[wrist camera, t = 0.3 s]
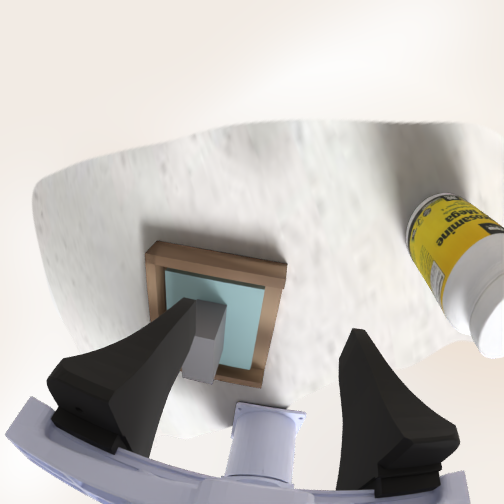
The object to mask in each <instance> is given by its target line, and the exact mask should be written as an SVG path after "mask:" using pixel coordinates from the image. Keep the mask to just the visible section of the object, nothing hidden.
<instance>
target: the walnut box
mask: <svg viewBox="0 0 504 504" xmlns="http://www.w3.org/2000/svg"><path fill="white" fill-rule="evenodd" d="M145 264H146V278H147V290H148V301H149V311H150V320H151V322H152V321H154V320H155V319H156V318H158V317H159V316H160V315H162V314H163V313H164V312H166V311H167V303H166V282H165V270H166V269H167V268H173V269H178V270H183V271H188V272H193V273H198V274H203V275H208V276H214V277H219V278H224V279H230V280H235V281H240V282H246V283H251V284H257V285H262V286H265V291H264V297H263V303H262V308H261V314H260V320H259V325H258V331H257V336H256V342H255V347H254V353H253V358H252V363H251V368H250V370H247V369H242V368H237V367H232V366H227V365H222V364H219V365H218V368H217V371H216V374H215V377H214V379H215V380H220V381H225V382H229V383H234V384H239V385H245V386H250V387H255V388H261V386H262V381H263V375H264V369H265V365H266V361H267V356H268V352H269V348H270V343H271V339H272V335H273V330H274V326H275V321H276V317H277V312H278V307H279V303H280V298H281V294H282V289H284V286H285V281H286V273H287V264H285V263H280V262H274V261H268V260H263V259H257V258H251V257H245V256H240V255H234V254H229V253H223V252H217V251H212V250H206V249H200V248H195V247H189V246H184V245H178V244H172V243H167V242H161V241H156V242H155V243H154V244H153V245H152V246H151V247H150V248H149V249H148V251H147V252H146V253H145ZM180 371H182V367H181V369H180Z"/></svg>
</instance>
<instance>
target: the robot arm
mask: <svg viewBox="0 0 504 504" xmlns="http://www.w3.org/2000/svg"><path fill="white" fill-rule="evenodd" d="M195 333H196V300H194V299H190V298H185V297H183V298H182V299H180V300H179V301H178V302H177V303H176V304H174V305H173V306H172V307H171V308H169V309H168V310H167V311H166V312H164V313H163V314H162V315H160V316H159V317H158V318H156V319H155V320H154V321H152V322H151V323H149V324H148V325H146V326H145V327H143V328H142V329H140V330H139V331H137V332H135V333H134V334H132V335H130V336H128V337H126V338H125V339H123V340H121V341H118V342H116V343H114V344H111V345H109V346H107V347H104V348H101V349H98V350H96V351H92V352H89V353H86V354H82V355H77V356H73V357H68V358H63V359H62V360H61V361H60V363H59V364H58V365H57V366H56V368H55V369H54V370H53V372H52V373H51V375H50V376H49V377H48V379H47V386H48V389H49V391H50V393H51V394H52V396H53V398H54V399H55V401H56V403H57V405H58V406H59V407H58V409H57V410H56V411H54V410H53V409H52V408H51V407H49V406H48V405H46V404H44V403H43V402H41V401H39V400H38V399H36V398H34V397H30V398H29V400H28V401H27V403H26V404H25V406H24V407H23V408H22V410H21V411H20V413H19V414H18V416H17V417H16V418H15V420H14V421H13V423H12V425H11V426H10V427H9V429H8V430H7V432H6V434H5V435H6V437H7V438H8V439H9V440H10V441H11V442H12V443H13V444H14V445H15V446H16V447H17V448H18V449H19V450H20V451H21V452H22V453H23V454H24V455H25V456H26V457H27V458H28V459H29V460H30V461H32V462H33V463H35V464H36V465H38V466H39V467H41V468H42V469H44V470H45V471H47V472H48V473H50V474H51V475H53V476H55V477H56V478H58V479H59V480H61V481H63V482H65V483H66V484H68V485H70V486H71V487H73V488H74V489H77V490H78V491H80V492H82V493H83V494H85V495H87V496H89V497H91V498H93V499H95V500H97V501H99V502H100V503H103V504H470V498H469V492H468V487H467V482H466V477H465V472H464V471H458V472H454V473H449V474H445V475H442V476H440V477H439V471H440V470H442V465H441V462H442V461H444V460H445V459H446V458H447V457H448V456H450V455H451V454H452V453H453V452H454V451H455V450H456V449H457V448H458V446H459V444H460V439H459V435H458V432H457V428H456V426H455V425H454V424H452V423H451V422H449V421H448V420H446V419H444V418H443V417H441V416H440V415H438V414H437V413H435V412H434V411H433V410H431V409H430V408H429V407H428V406H426V405H425V404H424V403H423V402H422V401H421V400H420V399H418V398H417V397H416V396H415V395H414V394H413V393H412V392H411V391H410V390H409V389H408V388H407V387H406V386H405V385H404V383H403V382H402V381H401V380H400V379H399V378H398V376H397V375H396V374H395V373H394V371H393V370H392V369H391V367H390V366H389V365H388V363H387V362H386V361H385V359H384V358H383V356H382V355H381V353H380V352H379V350H378V349H377V347H376V346H375V344H374V343H373V341H372V340H371V338H370V337H369V335H368V334H367V332H366V331H365V330H363V329H355V328H352V331H351V333H350V335H349V338H348V340H347V342H346V344H345V347H344V349H343V351H342V353H341V356H340V358H339V386H340V396H341V406H342V417H343V431H342V448H341V459H340V467H339V475H338V480H337V486H336V491H328V490H327V491H326V490H302V489H294V484H292V475H293V464H294V453H295V452H294V451H295V439H296V435H297V433H298V431H299V429H300V427H301V425H302V423H303V422H304V419H305V418H306V413H305V412H301V411H294V410H286V409H279V408H272V407H266V406H260V405H254V404H248V403H243V402H238V403H237V404H236V409H235V416H234V422H233V428H232V435H231V438H232V439H233V441H232V446H231V450H230V454H229V459H228V463H227V467H226V472H225V476H221V478H217V477H212V476H208V475H204V474H200V473H195V472H192V471H188V470H185V469H181V468H177V467H174V466H170V465H167V464H164V463H161V462H158V461H155V460H152V459H149V456H150V452H151V448H152V444H153V441H154V437H155V434H156V430H157V427H158V424H159V421H160V418H161V415H162V412H163V409H164V406H165V403H166V400H167V397H168V394H169V392H170V390H171V387H172V385H173V383H174V381H175V379H176V377H177V375H178V373H179V371H180V369H181V367H182V365H183V363H184V361H185V359H186V357H187V355H188V353H189V351H190V348H191V345H192V342H193V339H194V336H195Z"/></svg>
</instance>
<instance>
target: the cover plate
mask: <svg viewBox="0 0 504 504" xmlns="http://www.w3.org/2000/svg"><path fill="white" fill-rule="evenodd" d="M165 282H166V303H167V310H168V309H169V308H171V307H172V306H173V305H174V304H176V303H177V302H178V301H179V300H180V299H182V298H183V297H185V298H190V299H194V300H196V333H195V336H194V339H193V342H192V345H191V348H190V351H189V353H188V355H187V357H186V359H185V361H184V363H183V365H182V376H183V378H187V379H191V380H195V381H199V382H203V383H208V384H213V380H214V377H215V374H216V371H217V368H218V365H219V364H222V365H227V366H232V367H237V368H242V369H247V370H250V368H251V363H252V358H253V353H254V347H255V342H256V336H257V331H258V325H259V320H260V314H261V308H262V303H263V297H264V291H265V286H262V285H257V284H251V283H246V282H240V281H235V280H230V279H224V278H219V277H214V276H208V275H203V274H198V273H193V272H188V271H183V270H178V269H173V268H167V269H166V270H165Z"/></svg>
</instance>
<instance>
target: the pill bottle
mask: <svg viewBox="0 0 504 504" xmlns="http://www.w3.org/2000/svg"><path fill="white" fill-rule="evenodd" d="M406 244H407V249H408V252H409V254H410V256H411V258H412V260H413V262H414V263H415V265H416V266H417V268H418V270H419V271H420V273H421V274H422V276H423V278H424V279H425V281H426V283H427V284H428V286H429V288H430V289H431V291H432V293H433V295H434V296H435V298H436V300H437V302H438V303H439V305H440V307H441V309H442V311H443V313H444V315H445V317H446V318H447V320H448V321H449V323H450V324H451V325H452V327H453V328H455V329H456V330H457V331H459V332H461V333H463V334H466V335H471V336H472V339H473V341H474V342H475V344H476V346H477V347H478V349H479V351H480V353H481V354H482V355H483V356H485V357H487V358H492V359H493V358H500V357H503V356H504V228H503V227H502V226H501V225H499V224H498V223H497V222H495V221H494V220H493V219H491V218H490V217H489V216H488V215H486V214H484V213H483V212H482V211H480V210H479V209H478V208H476V207H475V206H473V205H472V204H471V203H469V202H467V201H466V200H465V199H463V198H461V197H459V196H457V195H455V194H450V193H441V194H436V195H433V196H431V197H429V198H427V199H426V200H424V201H423V202H422V203H421V204H420V205H419V206H418V207H417V208H416V209H415V211H414V212H413V214H412V216H411V218H410V220H409V223H408V226H407V232H406Z"/></svg>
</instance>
